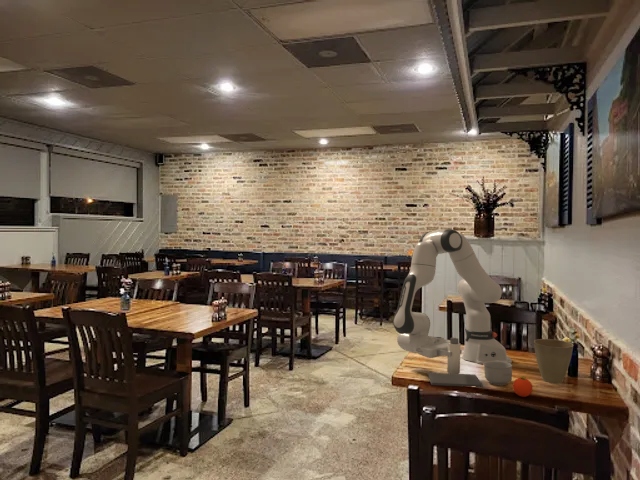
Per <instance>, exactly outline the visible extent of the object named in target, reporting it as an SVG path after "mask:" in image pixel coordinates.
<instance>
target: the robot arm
mask: <svg viewBox="0 0 640 480" xmlns="http://www.w3.org/2000/svg"><path fill="white" fill-rule="evenodd" d="M447 253H448V254H449V258H450V260H451V261H452V264H453V266H454V269H455V270H456V272H457V274H458V276H459V277H460V278H461V279H460V280H459V281H458V284H457V288H456V289H457V292H458V294H459V295H460V296H461V299H462V301H463V305H464V309H465V316H466V317H465V318H466V323H465V325H466V326H465V329H464V340H465V343H464V348H463V351H462V349H460V355H461V354H462V355H461V358H462V359H463V360H465V361H469V362H473V363H475V364H476V363H477V364H479V365H484V363H486V362H489V361H497V360H499V361H502V362H507V363H510V364H512V363H513V362H512V358H511V357H510V356H508V355H507V350H506V348H505V346H503V345H502V343H500V341H498V340H496V339H495V338H497V336H498V333H496V332H494V331H492V330H491V314H490V312H489V310H488V309H487V307H486V304H492V303H497V302H499V300H500V299H501V297H502V293H503V291H502V290H503V289H502V287H501V285H500V284H499V283H498V282H496V281H495V280H494V279H493V278H491V276H490V275H489V274H488V273H487V271H486V270H485V269H484V268H483V267H482V265H481V263H480V261H479V259H478V257H477V255H476V253H475V251H474V249H473V246H472V245H471V243H470V242H469V240H468V239H467V237H465V235H464V234H463V233H460V232H458V231H457V230H455V229H452V228H451V229H450V228H447V229H443V228H442V229H437V230H433V231H427V232H425V233H423V234H422V235H421V237H420V239H419V241H418V242H417V243H416V244H415V246H414V249H413V252H412V257H411V264H410V267H409V273H408V274H407V276H406V277H405V278H404V281H403V285H402V288H401V292H400V297H399V300H398V304H397V309H396V311H395V314H394V316H393V319H392V324H393V328H394V329H395V331H396V332H397V333H398V334H397V336H396V337H397V338H396V340H397V345H398V346H399V347H400V348H401V349H402V350H405V351H406V352H409V353H412V354H418V355H420V356H422V357H424V358H425V357H426V358H427V359H428V358H429V359H433V358H438V357H448V356H449V357H450V356H452V352H450V351H448V342H450V339H446V338H444V337H443V336H431V335H429V332H430V327H431V321H430V317H429V316H428V315H427V314H425V313H424V312H418V311H416V312H415V311H413V310H412V308H413V304H414V300H415V295H416V293H417V291H418V290H419V289H421V288H422V287H425V286H427V285H429V284H430V283H432V282H433V280H434V278H435V275H436V270H437V269H436V266H437V257H438V255H439V254H440V255H442V254H447ZM462 352H463V353H462Z"/></svg>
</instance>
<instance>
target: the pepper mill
mask: <svg viewBox="0 0 640 480" xmlns="http://www.w3.org/2000/svg"><path fill="white" fill-rule="evenodd" d="M449 340H450V342H448V351H450V352H452V356H450V357H449V356H447V369H446V370H447V371H446V372H447V373H451V374H461V354H460V350H461V347H462V346H461V343H460V342H459V338H458V337H450V339H449Z"/></svg>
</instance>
